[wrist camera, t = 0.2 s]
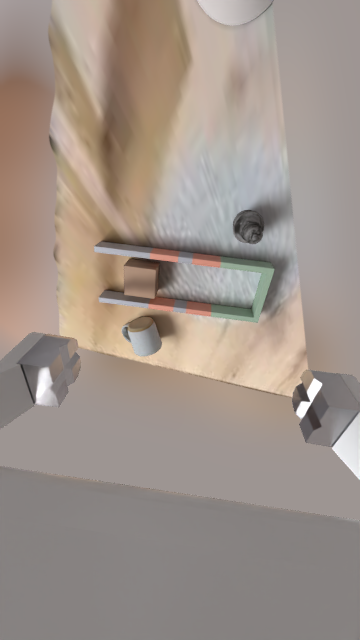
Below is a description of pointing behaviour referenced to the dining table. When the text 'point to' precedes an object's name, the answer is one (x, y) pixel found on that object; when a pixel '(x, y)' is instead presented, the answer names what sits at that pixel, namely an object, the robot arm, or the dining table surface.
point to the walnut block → (141, 278)
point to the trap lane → (196, 259)
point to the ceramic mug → (143, 336)
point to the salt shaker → (248, 227)
